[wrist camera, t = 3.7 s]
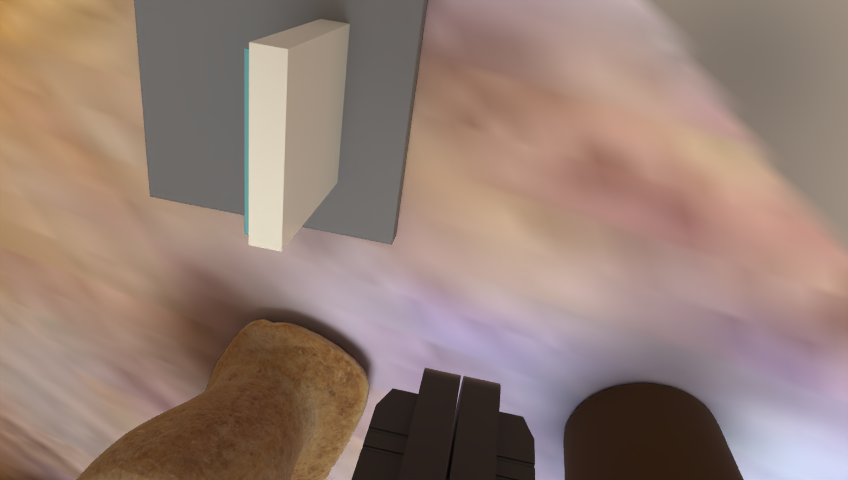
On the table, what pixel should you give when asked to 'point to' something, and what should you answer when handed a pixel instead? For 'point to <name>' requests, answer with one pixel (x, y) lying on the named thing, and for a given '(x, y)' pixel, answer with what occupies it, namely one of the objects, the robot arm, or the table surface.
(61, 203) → the table surface
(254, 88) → the tile
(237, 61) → the mat
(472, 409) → the robot arm
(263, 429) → the tan hollow piece
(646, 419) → the olive oil
